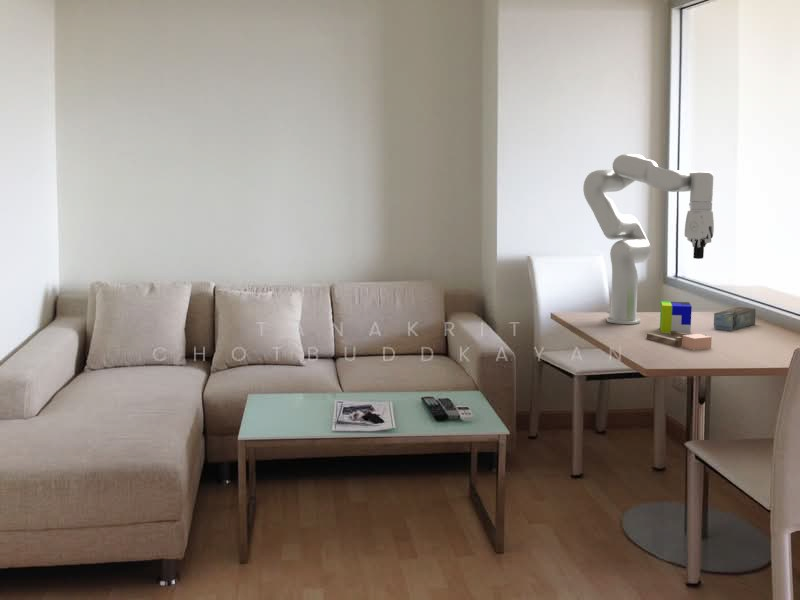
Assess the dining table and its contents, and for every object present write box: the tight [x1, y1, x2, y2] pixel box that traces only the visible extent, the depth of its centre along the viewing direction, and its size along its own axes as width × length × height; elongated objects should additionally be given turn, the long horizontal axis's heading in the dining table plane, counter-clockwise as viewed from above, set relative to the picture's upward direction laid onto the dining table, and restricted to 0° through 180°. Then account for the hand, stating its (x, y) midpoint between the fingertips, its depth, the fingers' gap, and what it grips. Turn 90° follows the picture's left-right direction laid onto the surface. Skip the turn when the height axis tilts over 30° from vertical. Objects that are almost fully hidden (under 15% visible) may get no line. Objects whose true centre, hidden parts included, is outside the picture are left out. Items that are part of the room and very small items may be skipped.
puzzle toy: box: [659, 301, 693, 335], centre depth 350 cm, size 10×10×10 cm
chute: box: [646, 331, 707, 348], centre depth 331 cm, size 16×12×3 cm
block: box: [681, 333, 712, 351], centre depth 321 cm, size 6×7×4 cm
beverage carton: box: [713, 306, 757, 332], centre depth 360 cm, size 8×19×7 cm, turn 135°
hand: (698, 258), depth 342 cm, fingers closed
